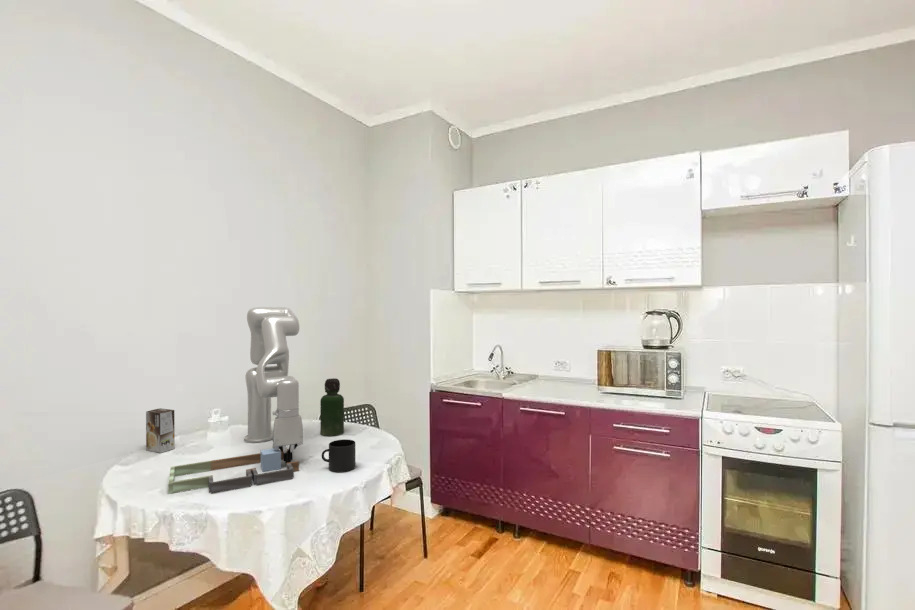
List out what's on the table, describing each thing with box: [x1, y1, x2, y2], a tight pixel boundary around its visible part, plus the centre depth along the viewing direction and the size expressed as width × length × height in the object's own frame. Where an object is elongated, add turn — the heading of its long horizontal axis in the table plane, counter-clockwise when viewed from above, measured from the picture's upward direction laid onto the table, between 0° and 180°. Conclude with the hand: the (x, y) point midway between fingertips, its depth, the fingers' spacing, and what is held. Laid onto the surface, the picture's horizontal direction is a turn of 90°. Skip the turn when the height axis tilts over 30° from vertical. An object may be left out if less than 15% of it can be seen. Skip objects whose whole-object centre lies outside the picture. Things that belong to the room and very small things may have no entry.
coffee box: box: [145, 408, 176, 454], centre depth 186 cm, size 9×6×16 cm
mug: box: [321, 439, 356, 473], centre depth 164 cm, size 9×12×9 cm
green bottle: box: [319, 377, 345, 437], centre depth 209 cm, size 10×10×25 cm
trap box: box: [167, 448, 300, 495], centre depth 156 cm, size 24×39×3 cm, turn 120°
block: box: [260, 448, 282, 473], centre depth 165 cm, size 6×6×6 cm
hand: (287, 462), depth 168 cm, fingers closed
